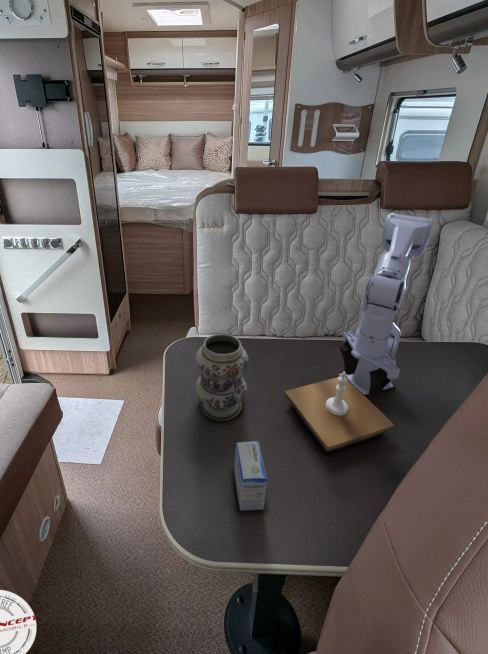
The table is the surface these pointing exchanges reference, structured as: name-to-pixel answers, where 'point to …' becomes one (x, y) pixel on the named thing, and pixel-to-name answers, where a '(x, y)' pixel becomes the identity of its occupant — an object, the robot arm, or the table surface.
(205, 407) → the apothecary jar
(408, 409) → the table surface
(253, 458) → the medicine box
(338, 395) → the chess piece
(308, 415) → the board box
